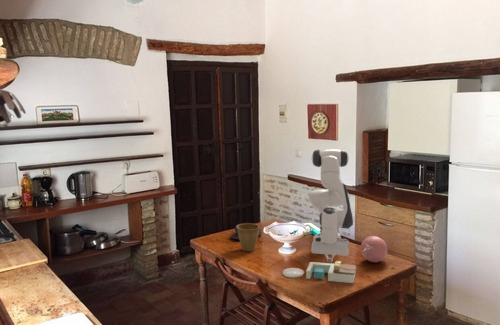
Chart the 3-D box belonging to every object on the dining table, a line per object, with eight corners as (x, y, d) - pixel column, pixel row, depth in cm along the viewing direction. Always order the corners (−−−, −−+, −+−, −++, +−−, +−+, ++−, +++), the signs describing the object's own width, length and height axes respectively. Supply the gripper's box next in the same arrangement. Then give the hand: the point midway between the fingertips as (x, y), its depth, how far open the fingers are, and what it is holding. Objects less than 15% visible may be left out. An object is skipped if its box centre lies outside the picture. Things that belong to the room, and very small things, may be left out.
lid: (335, 265, 252) (335, 259, 252) (355, 267, 249) (355, 261, 248) (333, 272, 242) (333, 267, 241) (354, 274, 238) (354, 268, 238)
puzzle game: (273, 230, 338) (287, 242, 310) (273, 227, 338) (287, 238, 309) (310, 226, 346) (327, 237, 317) (310, 222, 346) (327, 233, 317)
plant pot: (247, 255, 287) (246, 231, 284) (233, 249, 298) (232, 226, 296) (264, 249, 296) (264, 226, 293) (250, 244, 307) (249, 221, 305)
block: (315, 274, 252) (315, 268, 252) (324, 275, 251) (324, 268, 250) (313, 278, 248) (313, 271, 247) (322, 279, 246) (322, 272, 245)
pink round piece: (351, 263, 266) (351, 238, 264) (370, 255, 280) (370, 231, 277) (373, 270, 255) (373, 244, 253) (392, 261, 268) (392, 236, 266)
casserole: (252, 230, 339) (252, 219, 338) (267, 236, 325) (267, 224, 323) (225, 237, 325) (224, 226, 323) (239, 243, 310) (239, 232, 309)
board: (310, 269, 260) (310, 261, 259) (355, 273, 252) (355, 265, 252) (306, 278, 247) (306, 270, 246) (353, 283, 239) (353, 275, 238)
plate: (285, 268, 262) (285, 267, 262) (305, 270, 258) (305, 268, 258) (280, 276, 251) (280, 275, 251) (301, 278, 247) (301, 276, 247)
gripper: (349, 236, 245) (349, 261, 247) (312, 234, 251) (312, 258, 253) (348, 240, 239) (348, 265, 241) (310, 238, 245) (310, 262, 247)
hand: (329, 261), depth 247 cm, fingers closed
